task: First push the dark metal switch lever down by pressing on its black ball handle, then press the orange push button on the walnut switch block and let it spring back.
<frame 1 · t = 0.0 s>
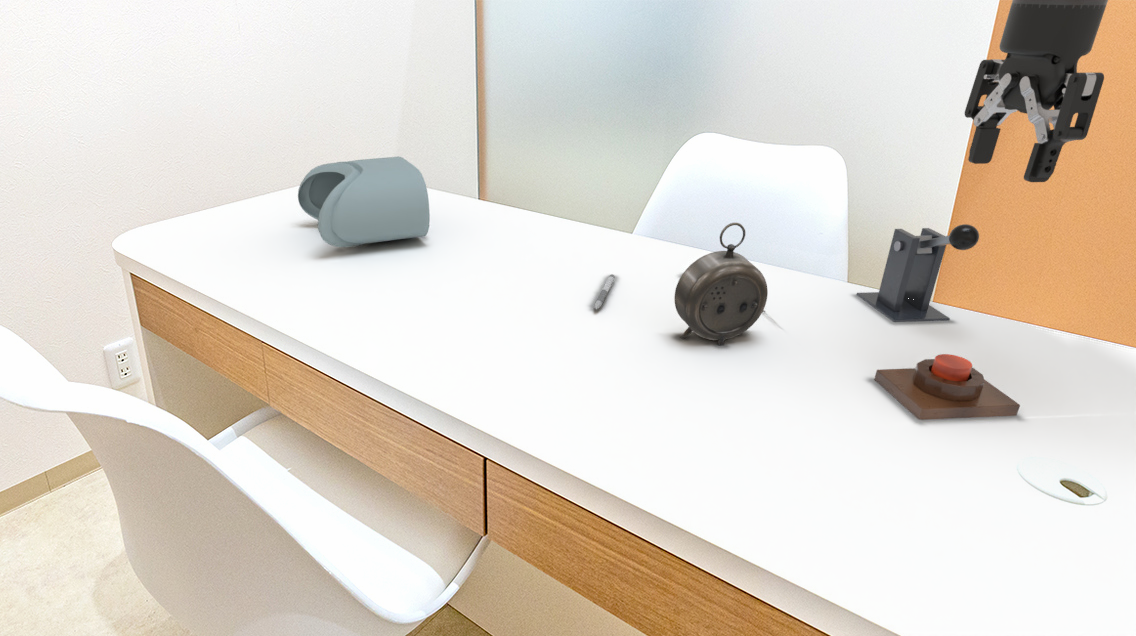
hand: (1005, 171, 78), 25 cm above the table, tool pointing down, fingers open, 8 cm apart
grey hollow curved shell: (363, 237, 137), on the table
pen: (604, 298, 112), on the table
button: (951, 368, 82), point 4 cm above the table, slide at 0.1 cm
alarm clock: (714, 345, 98), on the table
switch block: (940, 403, 84), on the table
switch bracket: (899, 312, 107), on the table
lever: (940, 241, 98), point 12 cm above the table, hinge at 25.0°
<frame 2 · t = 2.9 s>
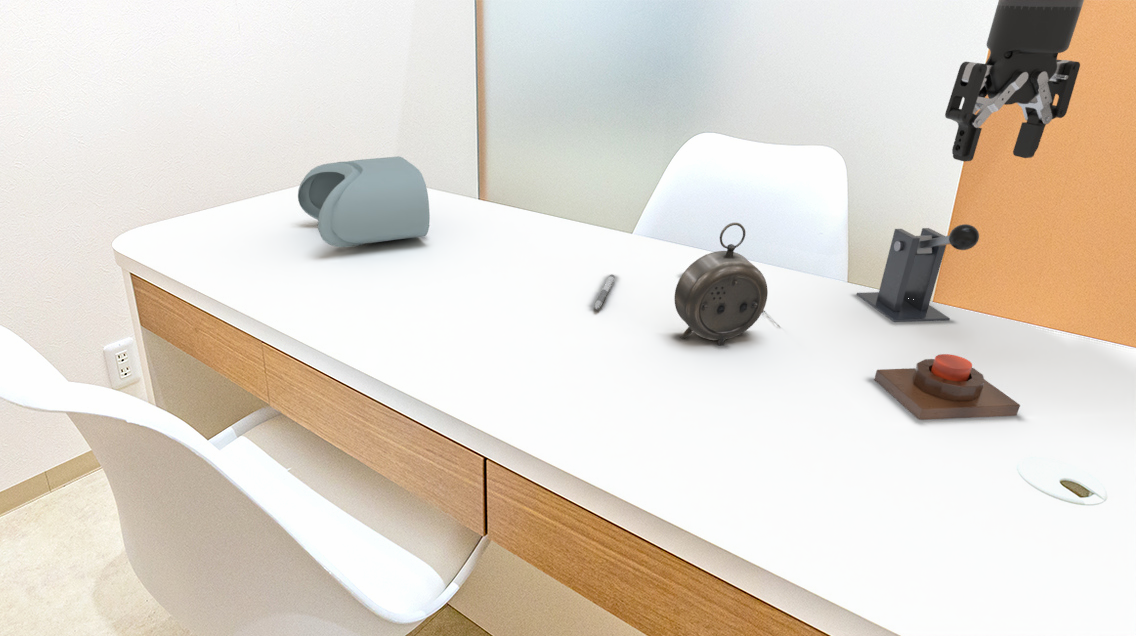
hand: (992, 158, 86), 24 cm above the table, tool pointing down, fingers open, 8 cm apart
nothing on the table moved.
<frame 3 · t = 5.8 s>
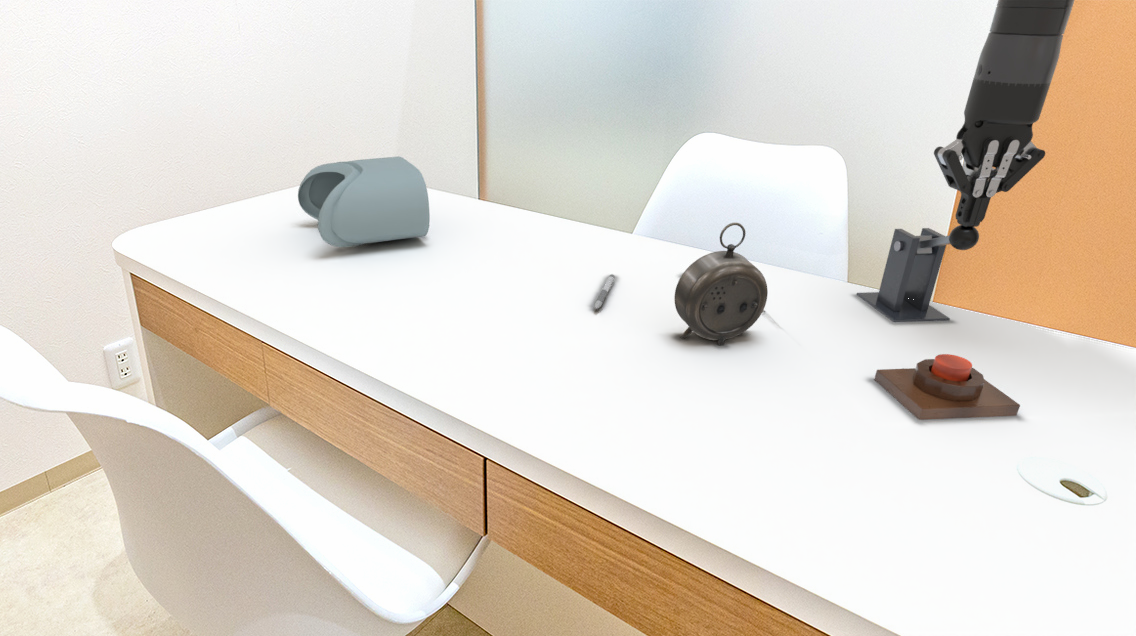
hand: (967, 224, 93), 15 cm above the table, tool pointing down, fingers closed
lever: (940, 241, 98), point 12 cm above the table, hinge at 24.9°, touching gripper
everything else where it was.
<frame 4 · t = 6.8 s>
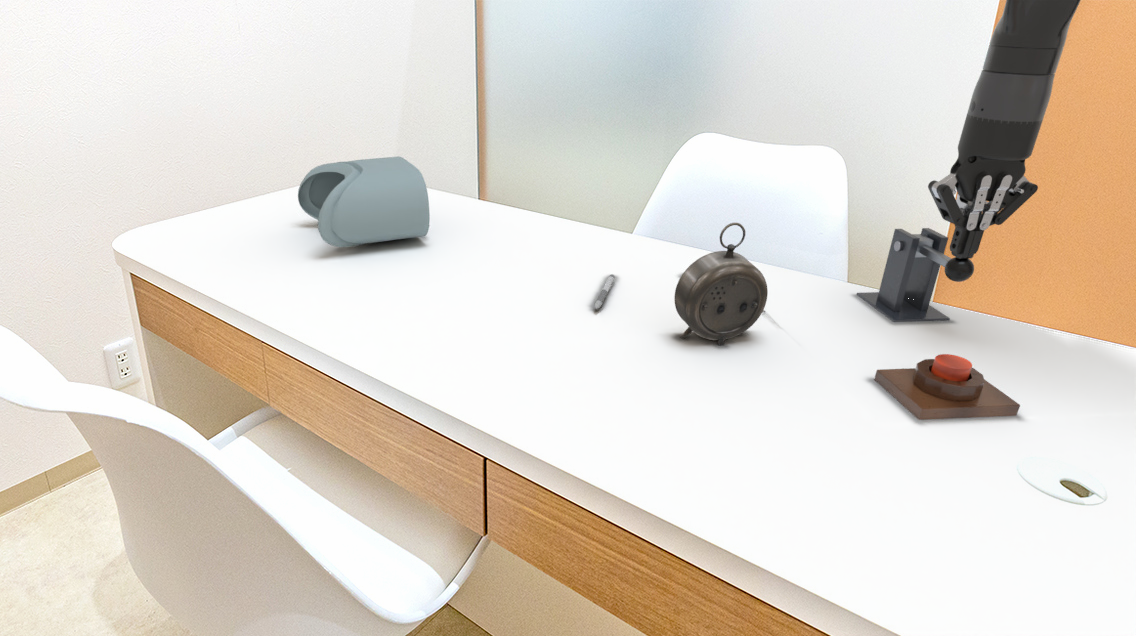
hand: (961, 256, 94), 12 cm above the table, tool pointing down, fingers closed
lever: (938, 257, 99), point 10 cm above the table, hinge at -0.8°, touching gripper
everything else where it was.
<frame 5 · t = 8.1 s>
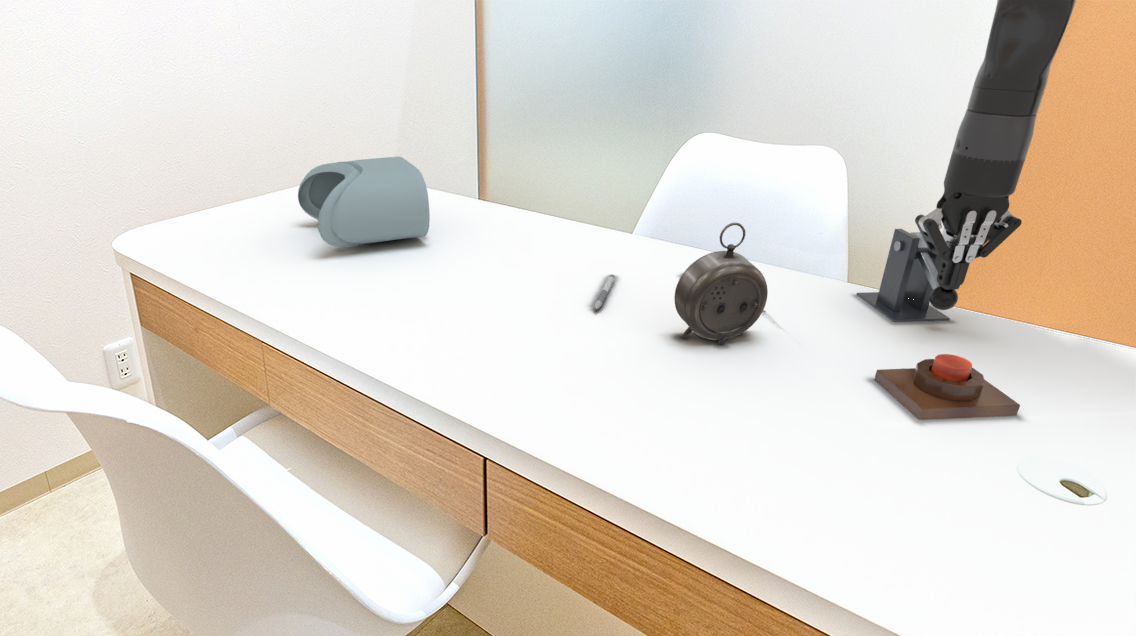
hand: (948, 287, 97), 7 cm above the table, tool pointing down, fingers closed
lever: (930, 271, 100), point 8 cm above the table, hinge at -30.1°, touching gripper
everything else where it was.
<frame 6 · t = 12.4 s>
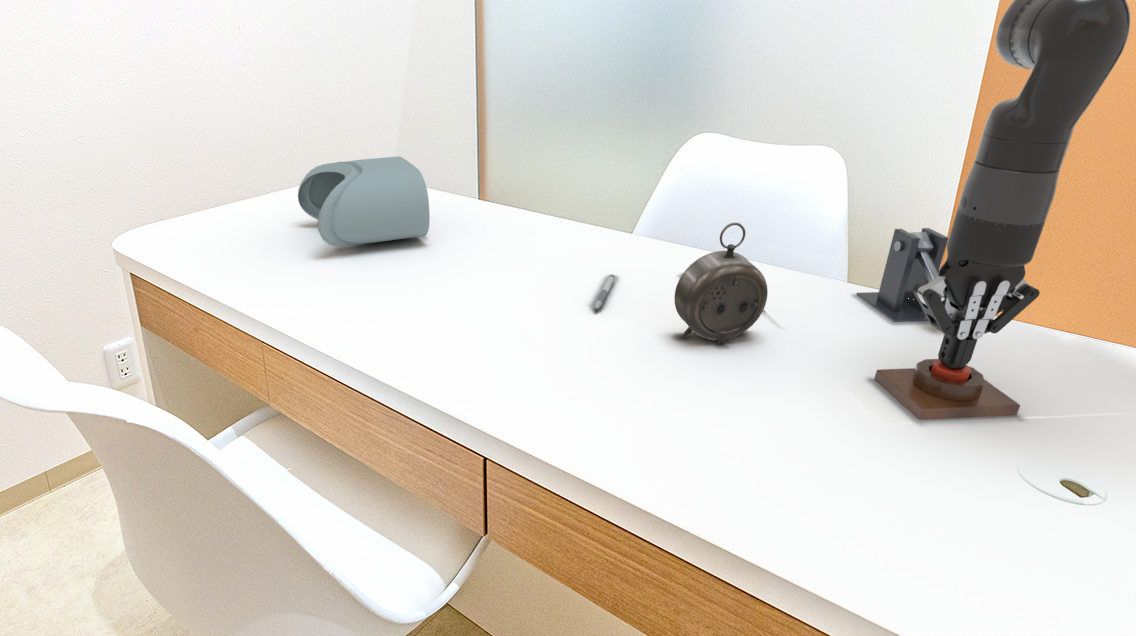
hand: (951, 365, 82), 5 cm above the table, tool pointing down, fingers closed
button: (949, 372, 82), point 4 cm above the table, slide at -0.5 cm, touching gripper
lever: (930, 271, 100), point 8 cm above the table, hinge at -30.3°
everything else where it was.
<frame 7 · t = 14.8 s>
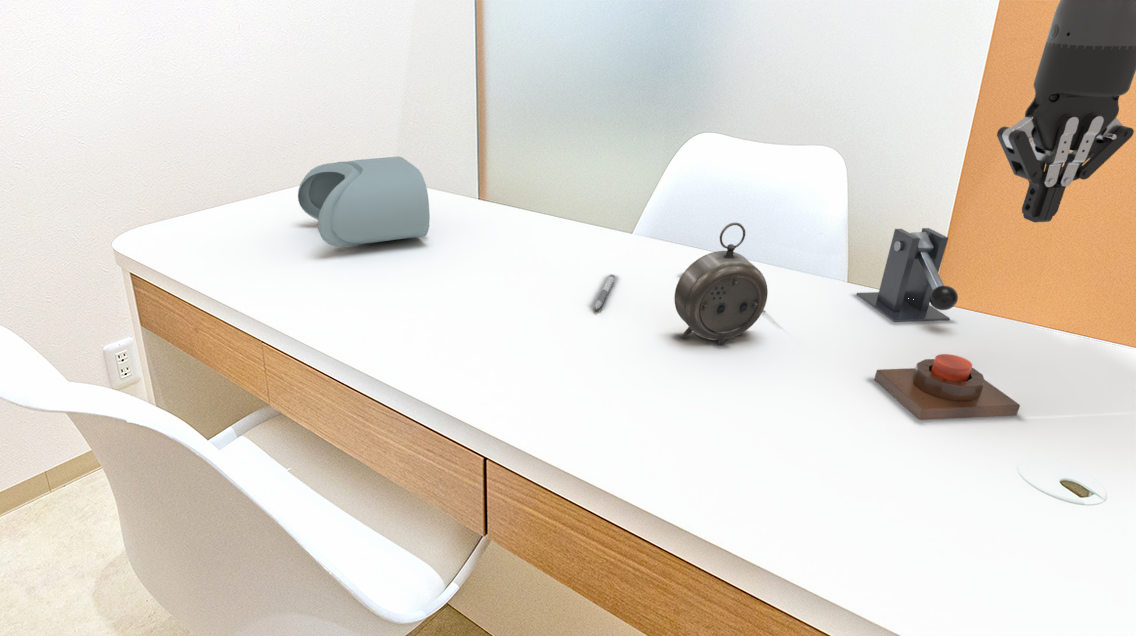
hand: (1036, 219, 78), 20 cm above the table, tool pointing down, fingers closed
button: (951, 368, 82), point 4 cm above the table, slide at 0.1 cm
everything else where it was.
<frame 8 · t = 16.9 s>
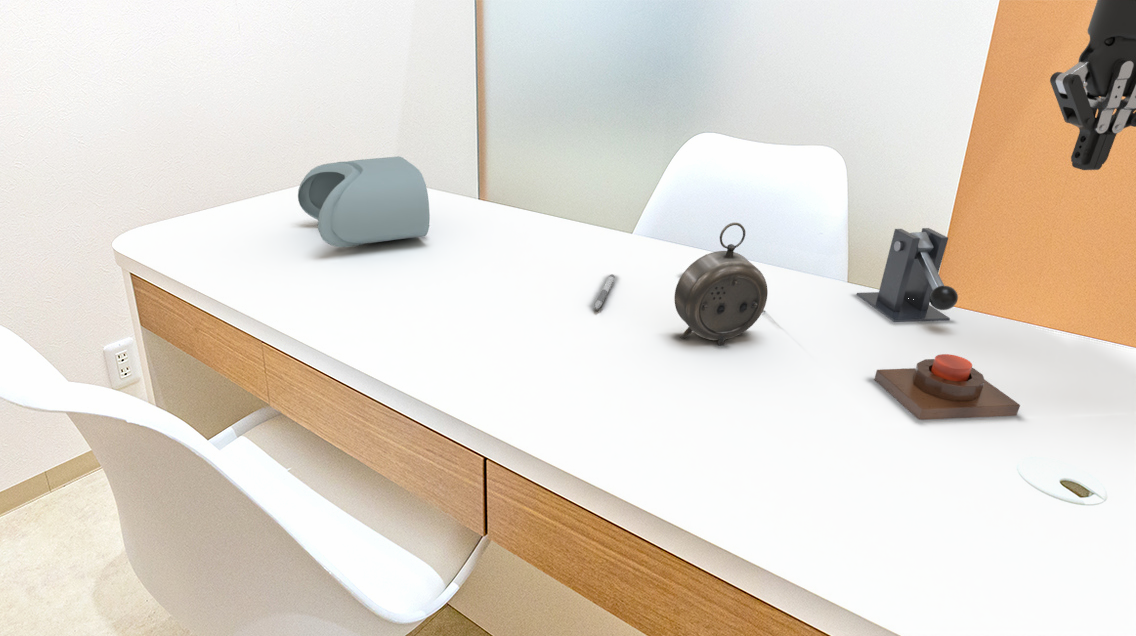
hand: (1085, 168, 78), 25 cm above the table, tool pointing down, fingers closed
nothing on the table moved.
at the end: lever at -30° (first picture: +25°); button pushed in 1.1 cm at the most during the clip, back to where it started at the end; button slide at 0.1 cm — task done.
